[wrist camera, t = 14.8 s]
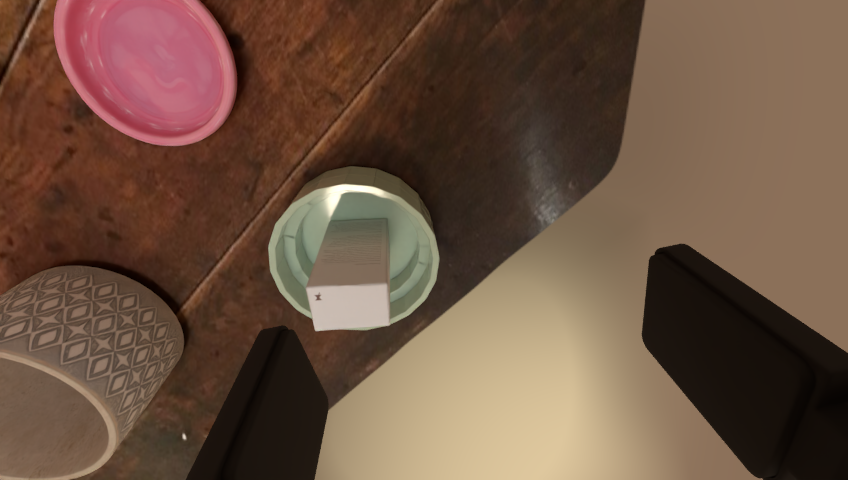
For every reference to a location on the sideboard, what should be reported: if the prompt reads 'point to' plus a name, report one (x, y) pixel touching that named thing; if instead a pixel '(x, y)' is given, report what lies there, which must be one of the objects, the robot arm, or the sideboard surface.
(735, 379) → the robot arm
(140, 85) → the saucer
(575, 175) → the sideboard surface
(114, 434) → the planter
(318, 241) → the bowl
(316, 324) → the cosmetic box
